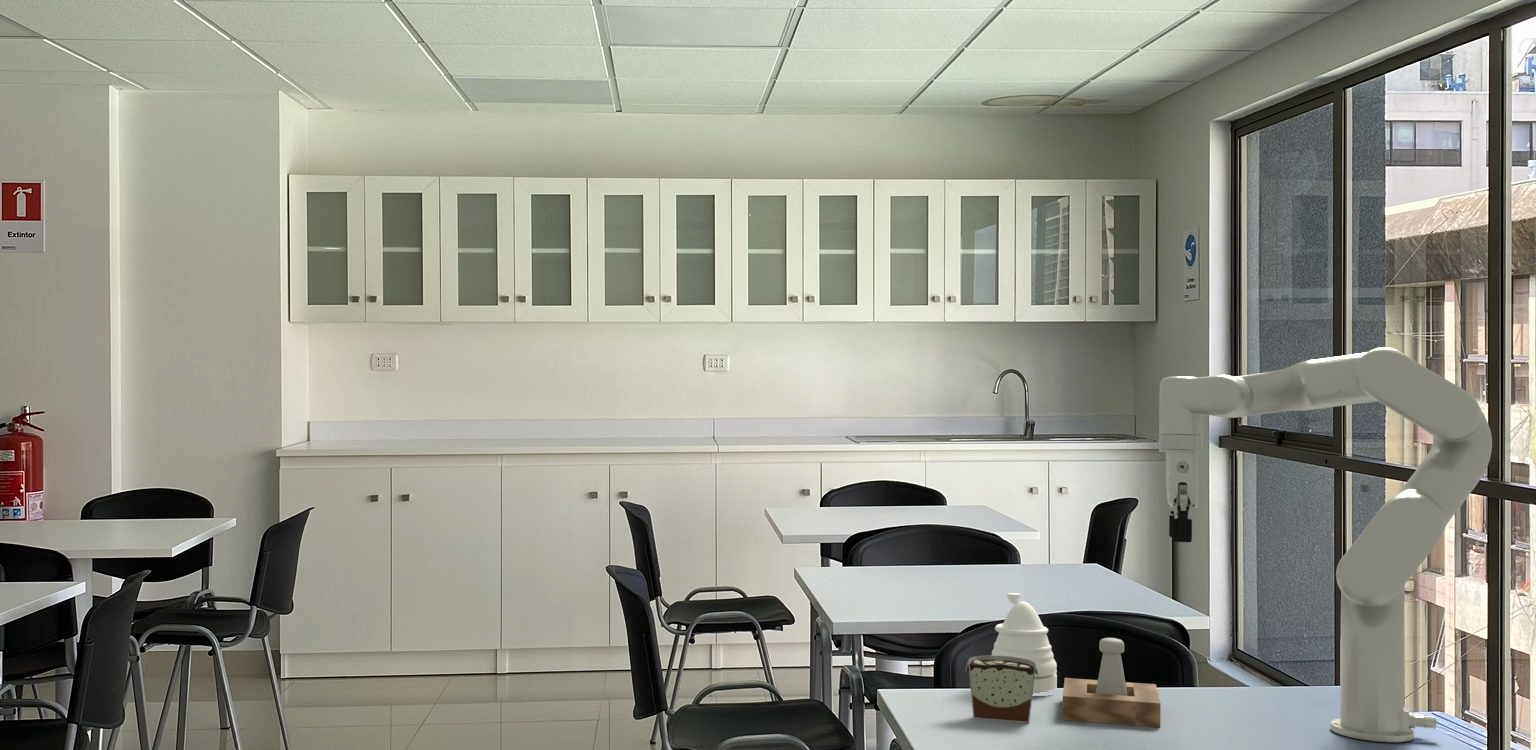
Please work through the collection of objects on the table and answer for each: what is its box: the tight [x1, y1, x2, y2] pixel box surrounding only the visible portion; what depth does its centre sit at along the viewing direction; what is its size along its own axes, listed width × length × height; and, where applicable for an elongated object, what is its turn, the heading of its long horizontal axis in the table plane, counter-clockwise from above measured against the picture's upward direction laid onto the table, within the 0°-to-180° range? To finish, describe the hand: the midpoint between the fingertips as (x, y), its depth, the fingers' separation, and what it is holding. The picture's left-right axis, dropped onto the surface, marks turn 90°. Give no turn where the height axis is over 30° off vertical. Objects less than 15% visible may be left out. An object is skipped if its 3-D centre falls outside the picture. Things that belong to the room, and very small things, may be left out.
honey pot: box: [991, 592, 1058, 693], centre depth 233 cm, size 13×13×18 cm
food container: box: [965, 655, 1039, 724], centre depth 211 cm, size 12×6×10 cm, turn 74°
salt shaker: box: [1095, 637, 1128, 696], centre depth 215 cm, size 6×6×13 cm
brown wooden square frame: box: [1062, 677, 1162, 728], centre depth 215 cm, size 16×16×4 cm
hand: (1180, 539), depth 220 cm, fingers open, 9 cm apart
